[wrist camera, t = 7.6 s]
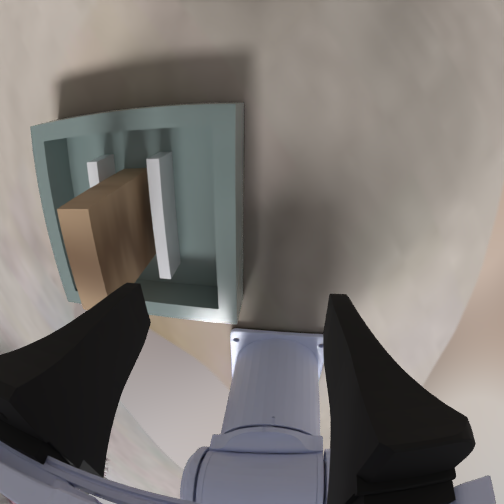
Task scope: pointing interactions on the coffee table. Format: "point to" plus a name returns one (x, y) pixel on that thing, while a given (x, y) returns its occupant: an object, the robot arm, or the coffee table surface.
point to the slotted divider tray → (160, 196)
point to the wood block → (108, 234)
